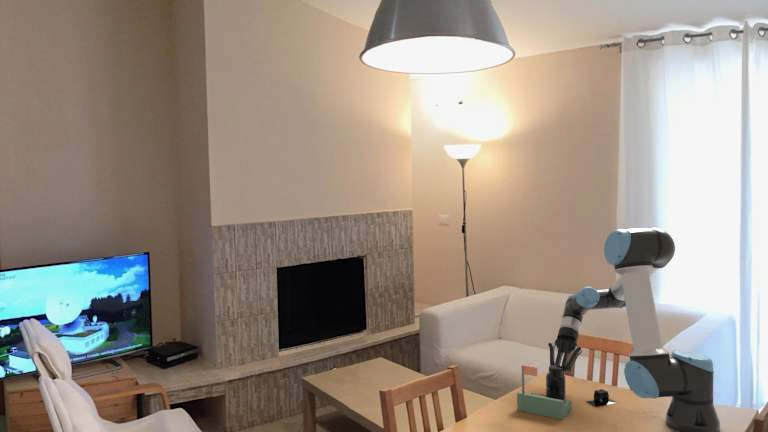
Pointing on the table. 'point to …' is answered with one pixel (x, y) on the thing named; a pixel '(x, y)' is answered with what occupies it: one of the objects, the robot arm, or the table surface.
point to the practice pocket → (540, 400)
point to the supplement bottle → (555, 383)
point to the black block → (601, 398)
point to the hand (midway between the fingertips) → (555, 385)
